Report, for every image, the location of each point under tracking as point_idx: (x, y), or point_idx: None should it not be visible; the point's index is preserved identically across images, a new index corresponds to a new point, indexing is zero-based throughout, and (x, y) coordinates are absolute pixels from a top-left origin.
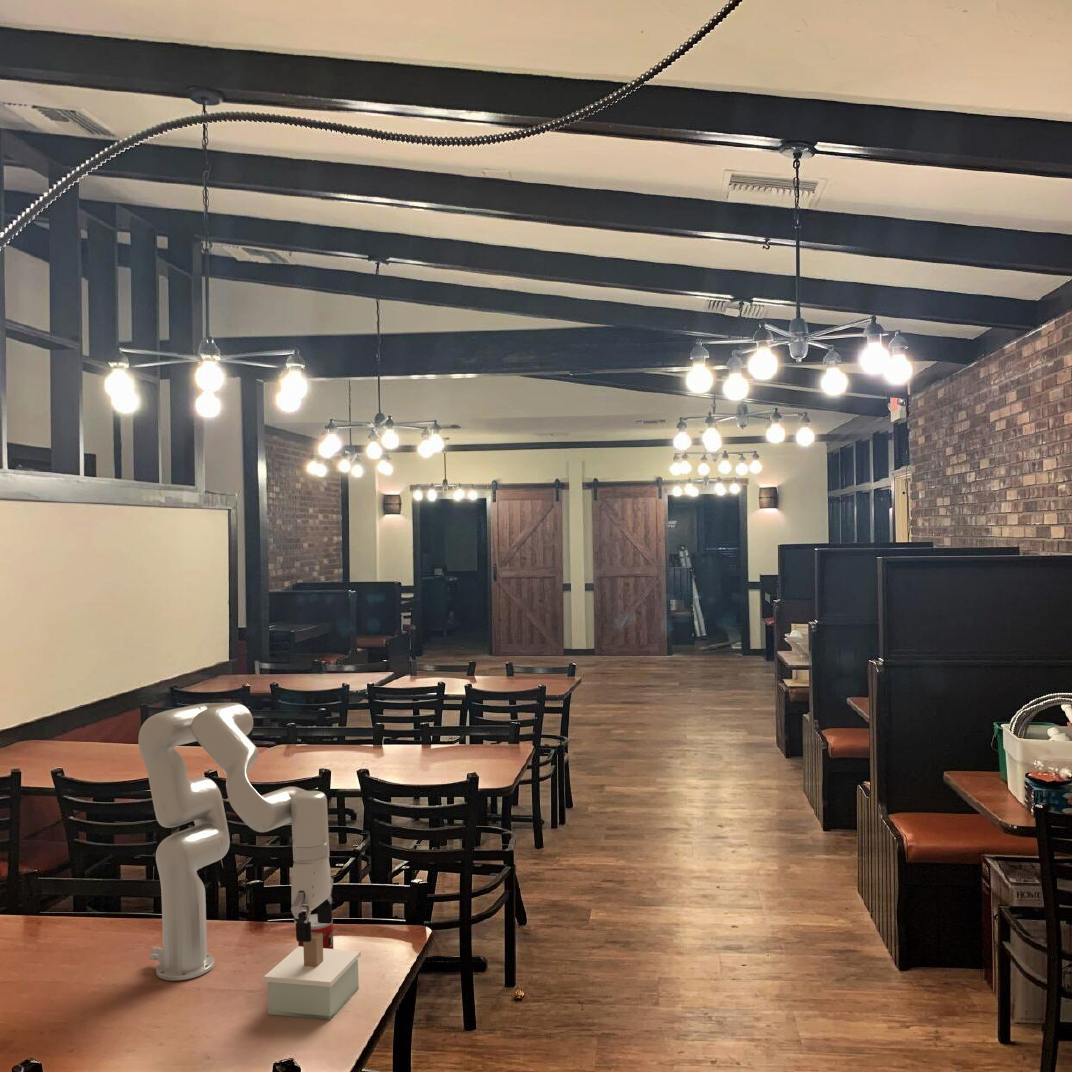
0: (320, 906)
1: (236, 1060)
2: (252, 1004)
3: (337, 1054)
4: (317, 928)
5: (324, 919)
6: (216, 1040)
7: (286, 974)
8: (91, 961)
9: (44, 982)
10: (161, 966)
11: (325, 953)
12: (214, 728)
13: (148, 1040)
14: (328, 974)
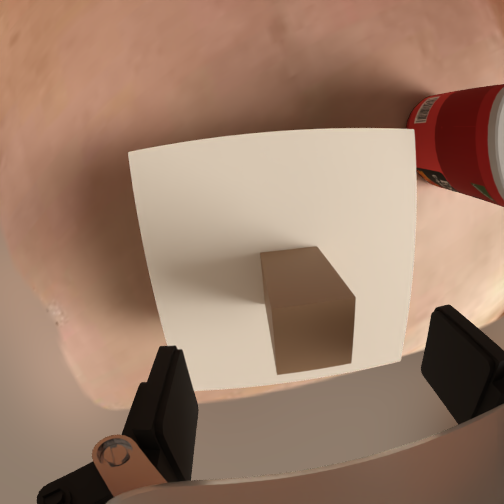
0: (482, 381)
1: (7, 226)
2: (207, 77)
3: (103, 385)
4: (496, 181)
5: (435, 356)
6: (39, 127)
7: (171, 228)
8: None
9: None
10: None
11: (378, 269)
12: None
13: (22, 8)
14: (223, 366)
